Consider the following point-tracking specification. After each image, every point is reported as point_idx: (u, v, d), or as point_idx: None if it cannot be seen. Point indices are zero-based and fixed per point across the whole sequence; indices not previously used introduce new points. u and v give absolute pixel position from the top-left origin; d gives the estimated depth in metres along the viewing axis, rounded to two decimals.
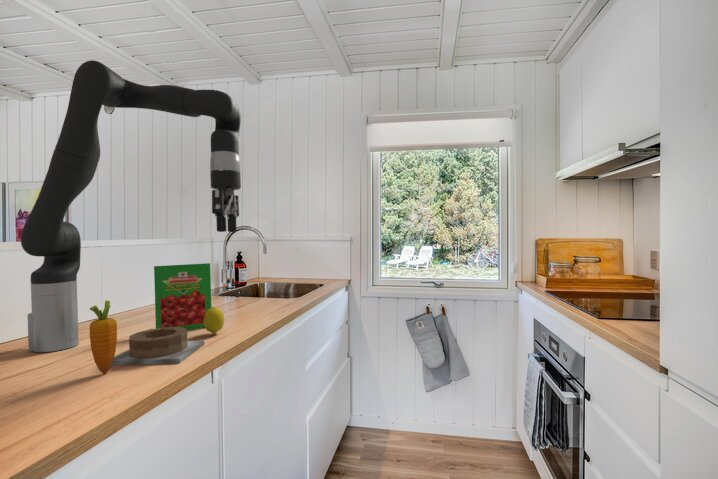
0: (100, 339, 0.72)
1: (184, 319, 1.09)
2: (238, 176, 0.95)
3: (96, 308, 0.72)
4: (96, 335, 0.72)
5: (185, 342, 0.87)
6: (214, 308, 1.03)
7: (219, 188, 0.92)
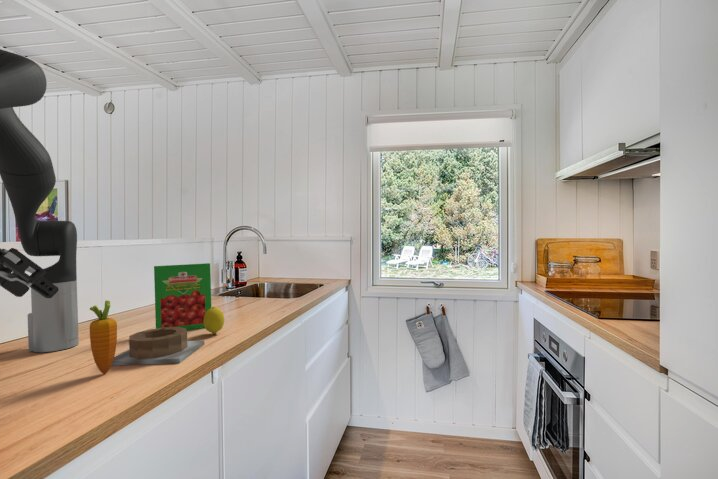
0: (100, 339, 0.72)
1: (184, 319, 1.09)
2: None
3: (96, 308, 0.72)
4: (96, 335, 0.72)
5: (185, 342, 0.87)
6: (214, 308, 1.03)
7: None
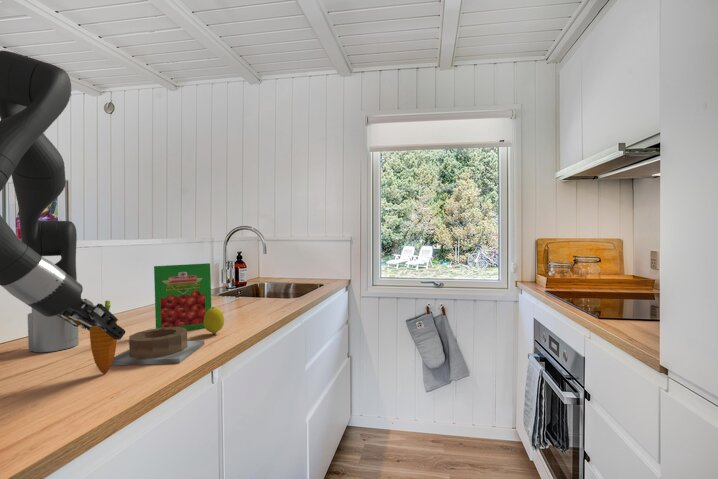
0: (100, 339, 0.72)
1: (184, 319, 1.09)
2: (31, 307, 0.64)
3: None
4: (96, 335, 0.72)
5: (185, 342, 0.87)
6: (214, 308, 1.03)
7: None
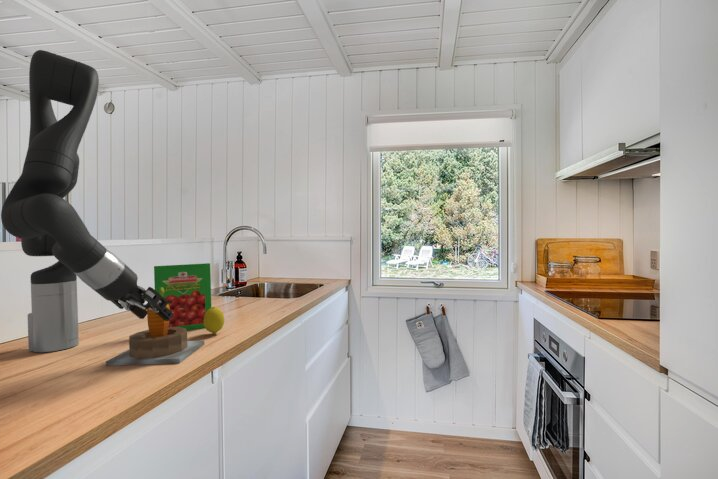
0: (157, 319, 0.84)
1: (184, 319, 1.09)
2: (97, 292, 0.75)
3: None
4: (153, 315, 0.84)
5: (185, 342, 0.87)
6: (214, 308, 1.03)
7: None
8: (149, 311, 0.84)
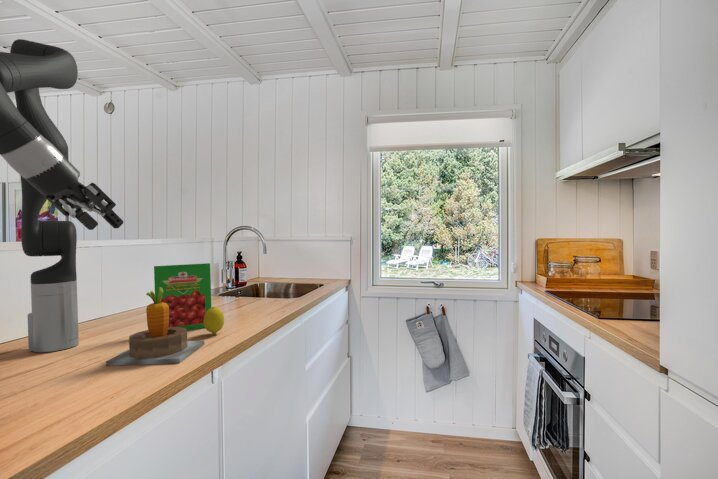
0: (156, 320, 0.84)
1: (184, 319, 1.09)
2: (31, 183, 0.67)
3: (153, 293, 0.84)
4: (153, 316, 0.84)
5: (185, 342, 0.87)
6: (214, 308, 1.03)
7: None
8: (148, 312, 0.84)
